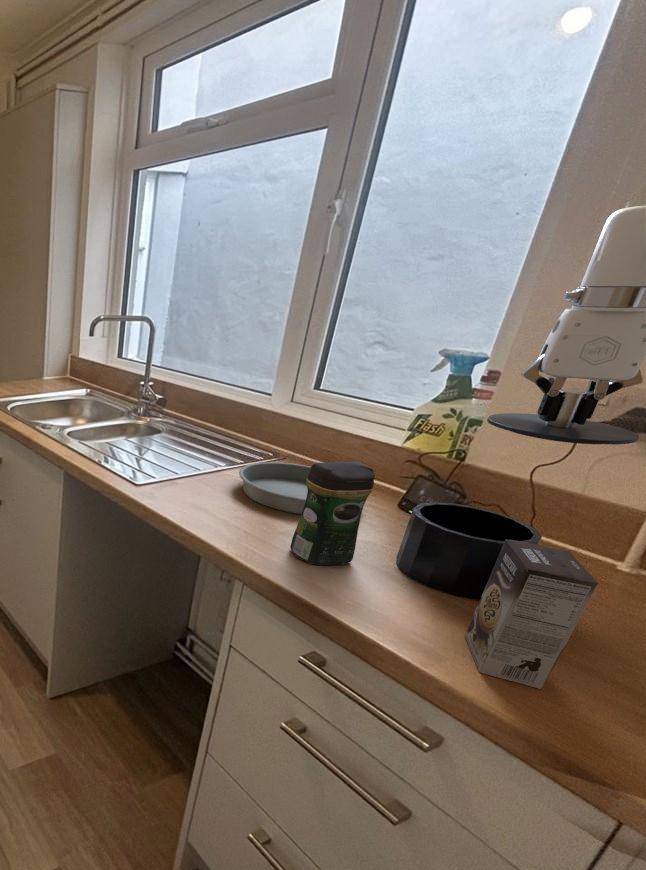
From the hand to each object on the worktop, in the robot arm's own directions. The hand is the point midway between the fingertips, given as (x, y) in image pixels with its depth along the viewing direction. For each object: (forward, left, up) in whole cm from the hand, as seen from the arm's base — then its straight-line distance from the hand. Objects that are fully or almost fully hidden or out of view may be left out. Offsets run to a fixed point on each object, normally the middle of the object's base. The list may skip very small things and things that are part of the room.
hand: (561, 420), depth 84 cm
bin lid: (0, 0, -2) cm, 2 cm away
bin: (+8, +8, -27) cm, 29 cm away
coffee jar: (+28, +12, -27) cm, 41 cm away
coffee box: (+7, +33, -27) cm, 43 cm away
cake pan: (+33, -18, -27) cm, 46 cm away
